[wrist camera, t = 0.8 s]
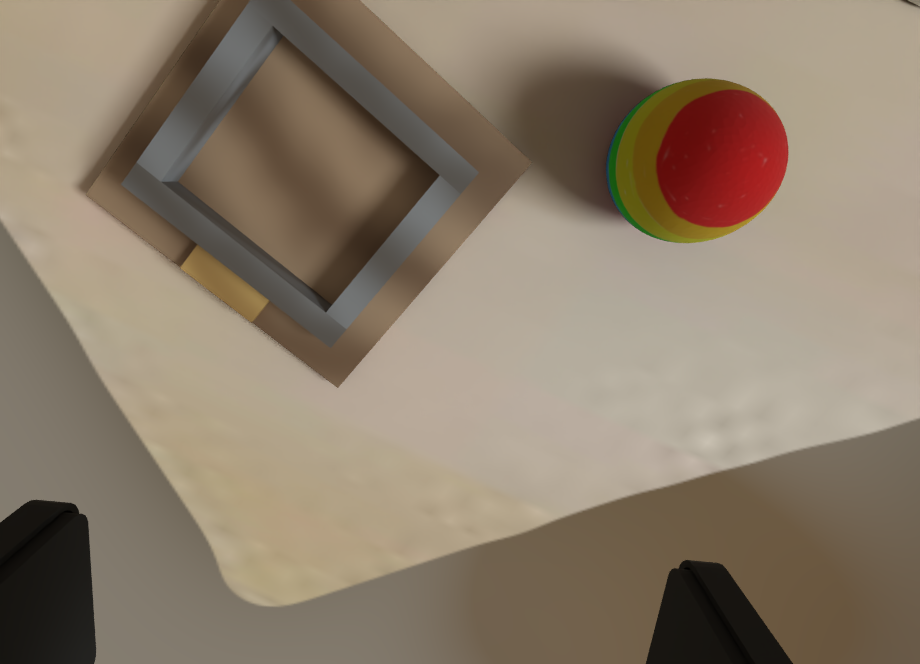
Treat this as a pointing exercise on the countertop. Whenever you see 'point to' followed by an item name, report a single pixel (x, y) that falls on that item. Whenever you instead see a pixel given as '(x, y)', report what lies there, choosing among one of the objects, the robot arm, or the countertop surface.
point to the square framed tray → (308, 172)
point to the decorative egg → (696, 160)
